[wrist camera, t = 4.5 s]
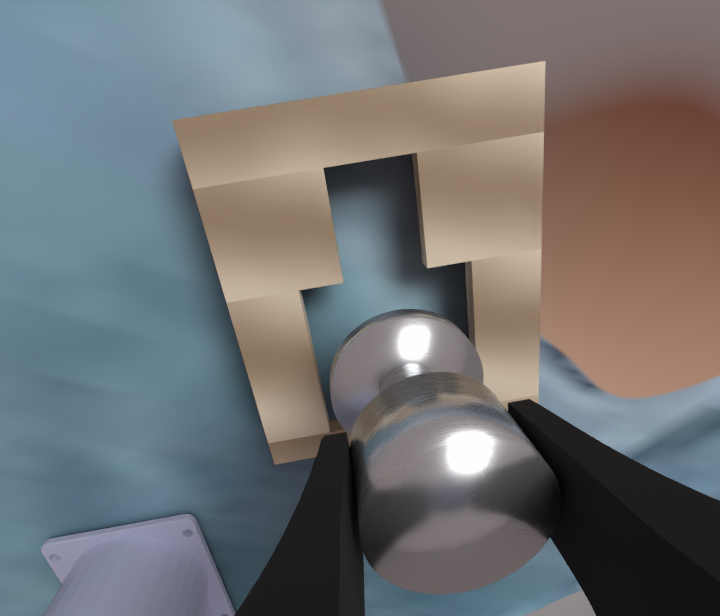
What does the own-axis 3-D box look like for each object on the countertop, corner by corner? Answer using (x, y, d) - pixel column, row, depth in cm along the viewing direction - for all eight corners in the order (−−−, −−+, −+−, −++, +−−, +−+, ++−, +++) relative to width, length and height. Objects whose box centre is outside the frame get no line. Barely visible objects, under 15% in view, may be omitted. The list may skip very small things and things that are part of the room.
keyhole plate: (514, 387, 20) (537, 417, 18) (279, 429, 20) (274, 464, 18) (512, 74, 15) (545, 61, 13) (194, 125, 15) (172, 120, 12)
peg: (478, 421, 15) (575, 577, 10) (344, 450, 15) (363, 626, 9) (469, 294, 13) (584, 397, 8) (315, 326, 13) (317, 455, 7)
